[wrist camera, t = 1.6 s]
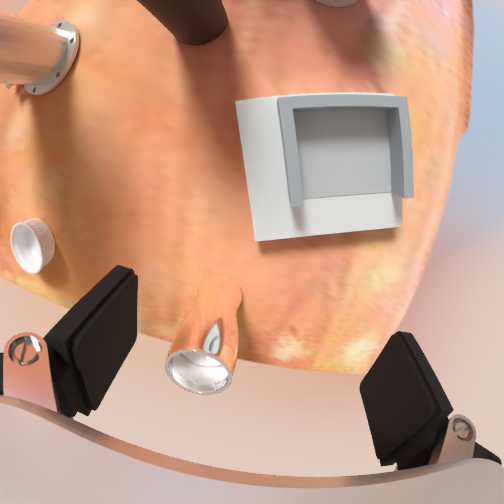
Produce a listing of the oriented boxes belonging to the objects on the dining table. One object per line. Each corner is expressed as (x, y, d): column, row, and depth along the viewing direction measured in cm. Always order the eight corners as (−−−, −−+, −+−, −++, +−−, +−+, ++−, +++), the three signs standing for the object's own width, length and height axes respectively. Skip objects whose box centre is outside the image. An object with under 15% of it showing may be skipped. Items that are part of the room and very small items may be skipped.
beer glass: (186, 284, 38) (148, 359, 24) (228, 263, 36) (205, 338, 22) (213, 321, 40) (191, 401, 26) (254, 303, 38) (247, 386, 24)
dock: (256, 234, 34) (253, 253, 29) (237, 104, 28) (230, 95, 23) (393, 220, 33) (414, 236, 27) (385, 96, 27) (408, 90, 21)
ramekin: (47, 272, 39) (33, 284, 35) (20, 237, 37) (5, 246, 33) (65, 242, 37) (49, 253, 33) (36, 203, 34) (18, 211, 30)
